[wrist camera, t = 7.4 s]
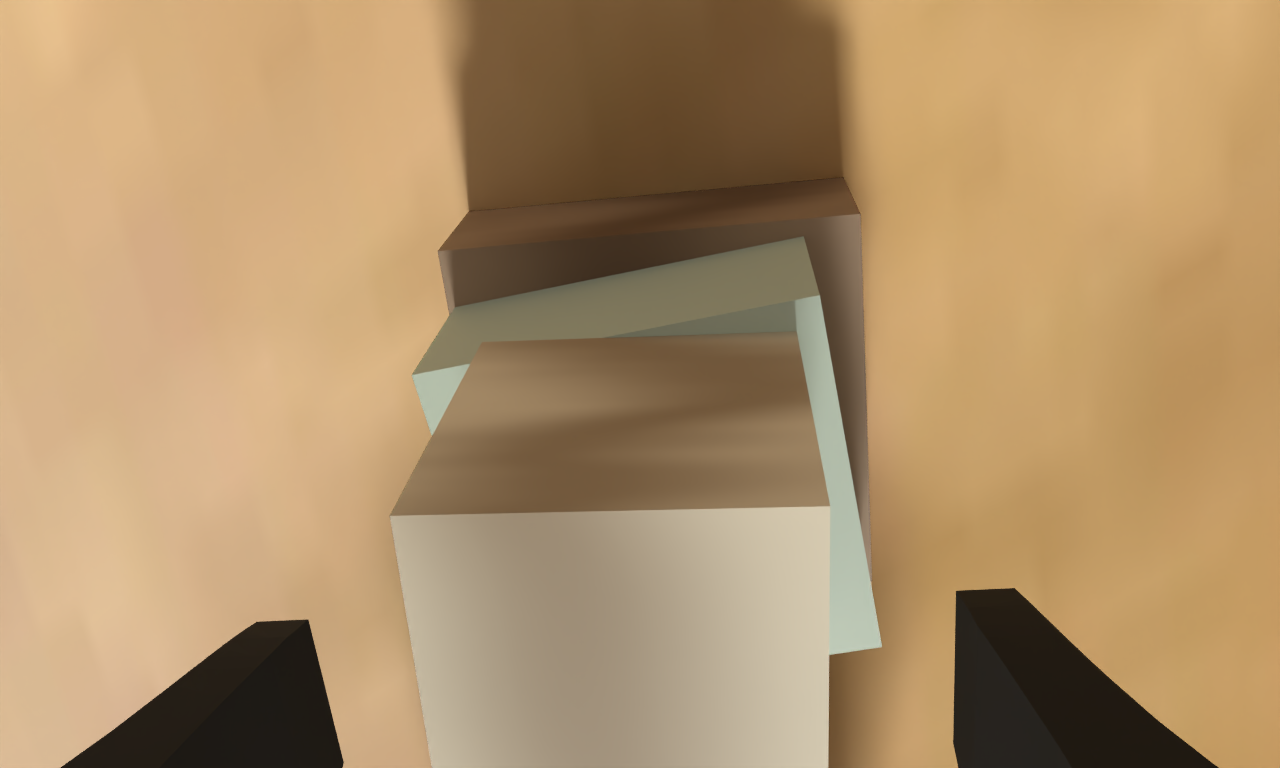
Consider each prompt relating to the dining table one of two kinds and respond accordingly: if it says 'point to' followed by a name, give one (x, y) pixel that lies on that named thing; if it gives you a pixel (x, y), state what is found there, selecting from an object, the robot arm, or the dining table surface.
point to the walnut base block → (677, 231)
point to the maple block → (622, 558)
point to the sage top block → (691, 305)
